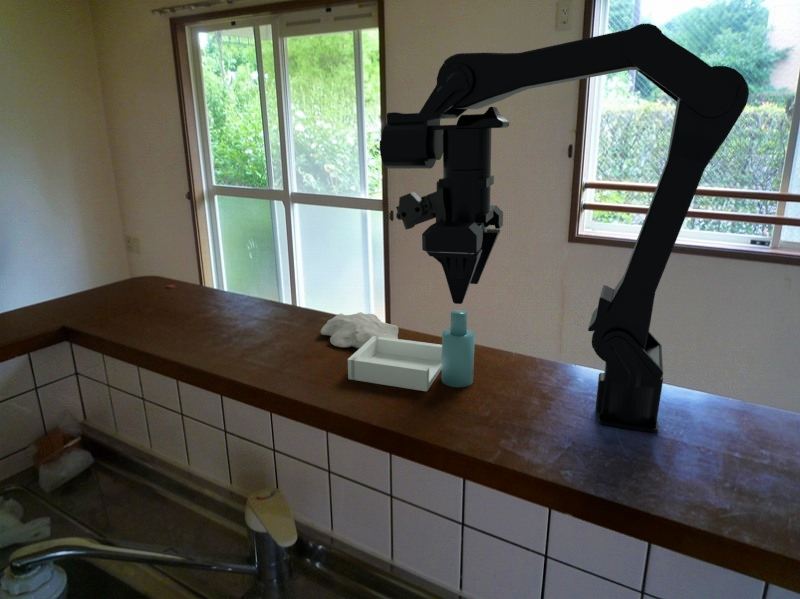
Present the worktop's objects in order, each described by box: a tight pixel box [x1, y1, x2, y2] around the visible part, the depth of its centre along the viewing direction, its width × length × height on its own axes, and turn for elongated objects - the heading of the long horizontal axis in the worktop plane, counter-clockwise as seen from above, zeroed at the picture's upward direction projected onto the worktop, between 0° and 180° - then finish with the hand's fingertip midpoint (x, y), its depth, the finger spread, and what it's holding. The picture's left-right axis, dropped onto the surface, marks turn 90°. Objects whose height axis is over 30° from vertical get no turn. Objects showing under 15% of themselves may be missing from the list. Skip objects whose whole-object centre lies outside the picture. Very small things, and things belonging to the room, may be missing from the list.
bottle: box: [440, 309, 476, 388], centre depth 76 cm, size 4×4×10 cm
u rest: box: [347, 336, 442, 392], centre depth 80 cm, size 12×9×3 cm
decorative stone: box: [320, 311, 399, 350], centre depth 91 cm, size 11×4×15 cm
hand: (466, 293), depth 71 cm, fingers open, 9 cm apart
